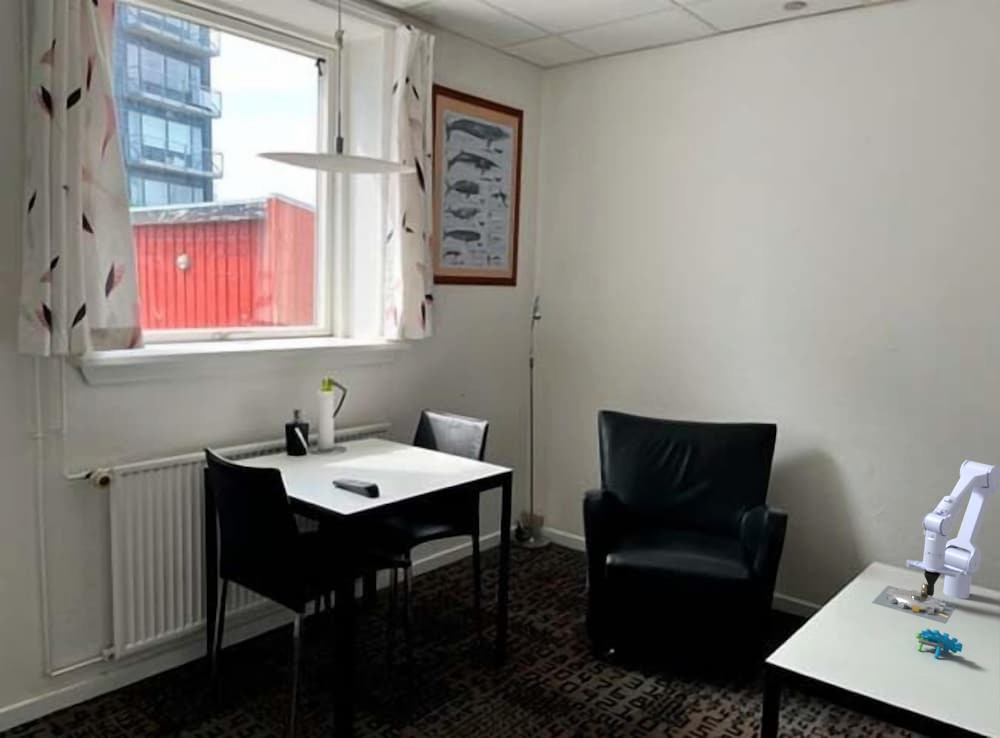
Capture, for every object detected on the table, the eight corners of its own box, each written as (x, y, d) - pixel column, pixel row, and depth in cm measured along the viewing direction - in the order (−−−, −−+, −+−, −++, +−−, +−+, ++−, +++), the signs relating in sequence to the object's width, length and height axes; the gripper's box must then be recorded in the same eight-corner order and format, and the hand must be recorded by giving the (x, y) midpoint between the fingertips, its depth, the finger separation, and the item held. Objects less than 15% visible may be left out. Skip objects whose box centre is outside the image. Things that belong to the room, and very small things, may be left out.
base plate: (887, 588, 252) (888, 585, 252) (957, 607, 239) (957, 603, 239) (871, 605, 237) (871, 602, 236) (944, 626, 224) (945, 623, 224)
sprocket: (886, 588, 248) (888, 573, 248) (943, 600, 241) (945, 584, 241) (885, 605, 234) (887, 589, 234) (946, 618, 227) (948, 602, 227)
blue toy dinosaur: (968, 652, 204) (957, 632, 200) (962, 672, 202) (951, 652, 197) (924, 641, 213) (912, 622, 208) (918, 660, 210) (906, 641, 206)
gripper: (905, 549, 240) (901, 591, 241) (959, 561, 230) (954, 605, 232) (910, 544, 245) (906, 585, 247) (963, 555, 236) (958, 598, 237)
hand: (930, 594), depth 240 cm, fingers closed, pressing on sprocket
